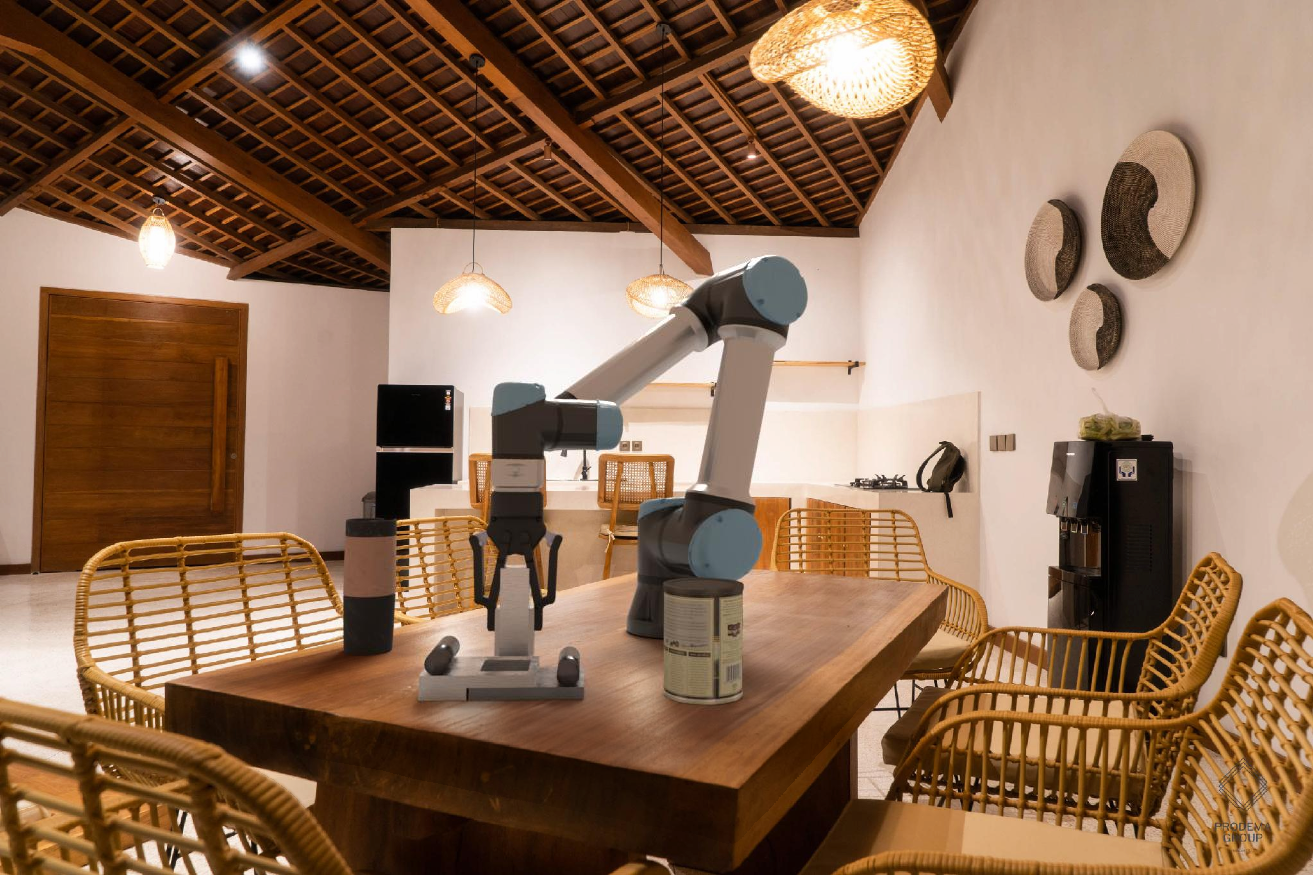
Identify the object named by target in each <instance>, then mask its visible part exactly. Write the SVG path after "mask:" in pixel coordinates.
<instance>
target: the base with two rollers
mask: <svg viewBox="0 0 1313 875" xmlns="http://www.w3.org/2000/svg"><path fill="white" fill-rule="evenodd" d="M460 644H461V643H460V641H459V639H458V638H457V637H456V636H453V635H446V636H443V637H442V638H441V639H440V640H439V642H437V644H436V645H435V646H434V647H433V649H432V650H431V651H430V652H429V654H428V655H427V656H426V657H425V659H424V663H423V667H424V669H423V670H422V671H421V672H420V673H419V675H418V689H417V690H418V691H417V692H418V694H417V696H418V697H417V699H418V702H436V701H437V702H442V701H444V702H446V701H450V702H452V701H456V702H457V701H521V700H522V701H528V700H530V701H537V700H541V701H543V700H544V701H545V700H546V701H547V700H548V701H549V700H550V701H551V700H553V701H554V700H584V699H585V667H584V666H582V667H581V666H580V665H581V664H580V663H581V662H580V661H581V660H580V659H581V655H580V652H579V650H578V649H577V648H576V647H574V646H571V645H570V646H565V647H563V648H562V649H561V650H560V651H559V656H558V662H557V667H552V666H551V667H550V666H549V667H547V666H546V667H545V666H544V667H540V663H541V662H540V660H541V659H540V658H541V657H540V655H539V656H538V655H535V656H457V654H458V653H459V651H460V649H461V645H460ZM467 699H468V700H467Z"/></svg>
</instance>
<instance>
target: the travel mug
mask: <svg viewBox="0 0 1313 875" xmlns="http://www.w3.org/2000/svg"><path fill="white" fill-rule="evenodd" d="M397 522H398V520H397V518H394V519H392V520H391V519H390V520H385V519H384V518H381V517H360V518H359V517H358V518H347V519H346V520H345V536H344V538H345V539H344V558H343V586H342V588H343V589H342V594H343V595H342V610H343V611H342V614H343V615H342V619H343V620H342V622H343V624H342V626H343V629H342V630H343V631H342V634H343V636H342V637H343V638H342V640H343V648H342V649H343V652H344V653H345V654H348V655H354V656H370V655H378V654H379V655H380V654H385V653H388V652H390V651H392V649H393V647H394V646H393V642H394V629H395V612H396V610H395V609H396V593H397V592H396V590H397V589H396V588H397V584H396V582H397V539H398V537H397V535H398V534H397V529H398V526H397V524H398V523H397Z"/></svg>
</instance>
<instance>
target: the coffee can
mask: <svg viewBox="0 0 1313 875" xmlns="http://www.w3.org/2000/svg"><path fill="white" fill-rule="evenodd" d="M663 588H664V638H663V686H662V687H663V689H662V694H663V696H664V697H665V698H667V699H669V700H671V701H674V702H677V703H682V704H689V705H698V706H699V705H701V706H704V705H705V706H707V705H708V706H711V705H712V706H713V705H723V704H725V705H726V704H729V703H733V702H736V701H738V700H740V699H741V698H742V697H743V696H744V693H743V692H744V691H743V638H744V637H743V636H744V635H743V627H744V622H743V621H744V615H743V614H744V607H743V606H744V602H743V600H744V598H743V597H744V595H743V594H744V593H743V592H744V589H745V585H744V582H742V581H739V580H737V581H736V580H730V579H721V578H679V579H672V580H668V581H665V582H664V583H663Z"/></svg>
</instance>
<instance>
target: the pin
mask: <svg viewBox="0 0 1313 875" xmlns="http://www.w3.org/2000/svg"><path fill="white" fill-rule="evenodd" d="M529 575H530V568H527V566H526V564H506V566H505V567H504V568H501V571H500V593H499V597H500V598H499V607H500V633H499V656H528V636H529V608H530V606H531V600H532V599H531V598H532V593H531V587H530V582H529Z"/></svg>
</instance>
